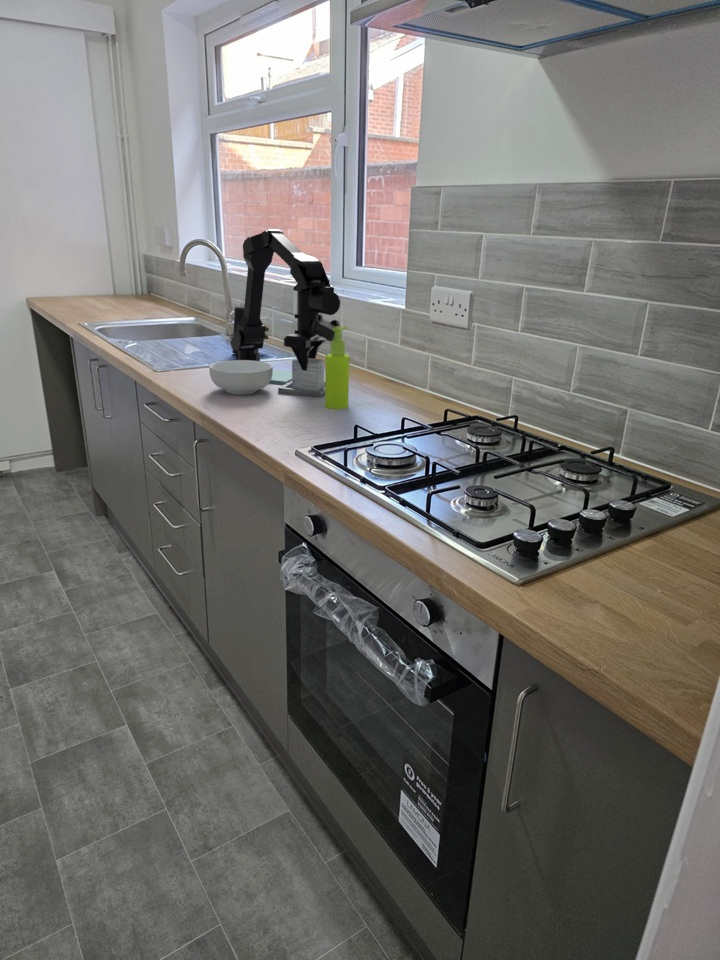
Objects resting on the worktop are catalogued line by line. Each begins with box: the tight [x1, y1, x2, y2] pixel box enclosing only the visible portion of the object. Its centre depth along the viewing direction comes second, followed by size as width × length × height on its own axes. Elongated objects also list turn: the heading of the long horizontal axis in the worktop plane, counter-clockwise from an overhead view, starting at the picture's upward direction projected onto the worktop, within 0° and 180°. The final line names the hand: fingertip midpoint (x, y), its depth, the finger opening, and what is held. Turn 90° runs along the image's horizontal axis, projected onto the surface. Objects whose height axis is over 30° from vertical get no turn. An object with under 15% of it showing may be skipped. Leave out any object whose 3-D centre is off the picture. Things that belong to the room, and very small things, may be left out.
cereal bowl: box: [208, 359, 274, 395], centre depth 176 cm, size 17×17×7 cm
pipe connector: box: [232, 306, 270, 355], centre depth 221 cm, size 12×5×15 cm, turn 113°
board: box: [269, 369, 292, 386], centre depth 191 cm, size 12×12×1 cm
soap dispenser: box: [324, 326, 350, 410], centre depth 162 cm, size 6×7×20 cm
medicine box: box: [291, 358, 325, 391], centre depth 178 cm, size 8×4×9 cm, turn 71°
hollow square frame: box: [277, 381, 325, 398], centre depth 179 cm, size 12×12×2 cm
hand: (307, 368), depth 177 cm, fingers closed on medicine box, 4 cm apart
